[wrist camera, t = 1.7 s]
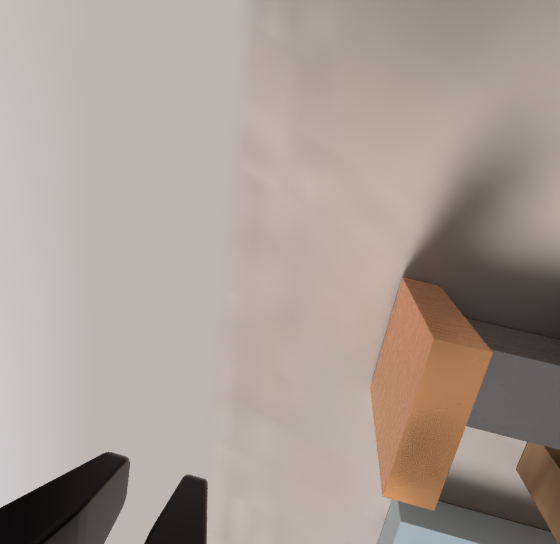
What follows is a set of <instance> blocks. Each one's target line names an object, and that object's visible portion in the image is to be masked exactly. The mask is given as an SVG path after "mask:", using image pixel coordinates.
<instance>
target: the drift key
mask: <svg viewBox="0 0 560 544" xmlns="http://www.w3.org/2000/svg"><path fill="white" fill-rule="evenodd" d="M370 389H371V398H372V407H373V416H374V424H375V433H376V442H377V451H378V460H379V469H380V477H381V486H382V495H383V497H386V498H390V499H393V500H397V501H400V502H404V503H408V504H411V505H415V506H418V507H422V508H426V509H429V510H433V511H434V510H435V507H436V505H437V502H438V499H439V497H440V494H441V491H442V489H443V486H444V483H445V481H446V478H447V475H448V472H449V470H450V467H451V464H452V462H453V459H454V456H455V454H456V451H457V448H458V446H459V443H460V440H461V438H462V435H463V432H464V429H465V427H466V426H468V427H472V428H476V429H480V430H484V431H488V432H492V433H496V434H500V435H503V436H507V437H511V438H515V439H519V440H523V441H527V442H531V443H535V444H539V445H542V446H546V447H550V448H554V449H558V450H560V340H559V339H555V338H550V337H546V336H542V335H537V334H533V333H529V332H524V331H520V330H516V329H511V328H507V327H503V326H498V325H494V324H490V323H485V322H481V321H477V320H472V319H468V318H465V317H464V316H463V314H462V313H461V312H460V311H459V309H458V308H457V307H456V306H455V304H454V303H453V302H452V301H451V299H450V298H449V297H448V296H447V294H446V293H445V292H444V291H443V289H442V288H441V287H440V286H439V285H435V284H430V283H426V282H422V281H417V280H413V279H408V278H404V277H402V279H401V283H400V286H399V290H398V293H397V297H396V300H395V304H394V307H393V311H392V314H391V317H390V321H389V324H388V328H387V331H386V335H385V338H384V342H383V345H382V349H381V352H380V356H379V359H378V363H377V366H376V369H375V373H374V376H373V380H372V383H371V387H370Z"/></svg>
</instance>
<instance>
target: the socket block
mask: <svg viewBox="0 0 560 544" xmlns="http://www.w3.org/2000/svg"><path fill="white" fill-rule="evenodd" d="M516 470H517V472H518V474H519V475H520V477H521V479H522V481H523V482H524V484H525V486H526V488H527V489H528V491H529V493H530V495H531V497H532V498H533V500H534V502H535V504H536V505H537V507H538V509H539V511H540V512H541V514H542V516H543V518H544V520H545V521H546V523H547V525H548V527H549V528H550V530H551V532H552V534H553V535H554V537H555V539H556V541H557V543H558V544H560V450H558V449H554V448H550V447H546V446H542V445H539V444H535V443H531V442H528V443H527V445H526V448H525V450H524V452H523V455H522V457H521V459H520V462H519V464H518V466H517V469H516Z"/></svg>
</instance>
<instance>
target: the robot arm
mask: <svg viewBox="0 0 560 544" xmlns="http://www.w3.org/2000/svg"><path fill="white" fill-rule="evenodd" d="M129 468H130V461H129V459H128V458H127V457H125V456H122V455H119V454H115V453H112V452H107V453H104V454H101V455H100V456H98V457H96V458H94V459H92V460H90V461H88V462H86V463H85V464H83V465H81V466H79V467H77V468H75V469H73V470H71V471H69V472H67V473H66V474H64V475H62V476H60V477H58V478H56V479H54V480H52V481H50V482H48V483H47V484H45V485H43V486H41V487H39V488H37V489H35V490H33V491H32V492H30V493H28V494H26V495H24V496H22V497H20V498H18V499H16V500H14V501H13V502H11V503H9V504H7V505H5V506H3V507H1V508H0V544H104V543H105V541H106V539H107V537H108V535H109V533H110V531H111V529H112V527H113V525H114V523H115V521H116V519H117V517H118V515H119V513H120V511H121V509H122V507H123V505H124V502H125V498H126V494H127V486H128V477H129ZM207 489H208V484H207V481H206V480H205V479H203V478H199V477H196V476H192V475H185V476H184V477H183V479H182V480H181V482H180V483H179V485H178V487H177V488H176V490H175V491H174V493H173V495H172V496H171V498H170V500H169V501H168V503H167V504H166V506H165V508H164V509H163V511H162V513H161V514H160V516H159V517H158V519H157V521H156V522H155V524H154V526H153V528H152V529H151V531H150V533H149V535H148V537H147V539H146V542H145V543H144V544H206V541H207Z"/></svg>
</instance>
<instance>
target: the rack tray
mask: <svg viewBox="0 0 560 544" xmlns="http://www.w3.org/2000/svg"><path fill="white" fill-rule="evenodd" d="M378 544H558V543H557V541H556V539H555V537H554V535H553V534H552V532H549V531H545V530H542V529H538V528H534V527H531V526H527V525H523V524H520V523H516V522H513V521H509V520H505V519H502V518H498V517H494V516H491V515H487V514H484V513H480V512H476V511H473V510H469V509H465V508H462V507H458V506H455V505H451V504H447V503H444V502H440V501H438V502H437V505H436V507H435V510H434V511H433V510H429V509H426V508H422V507H418V506H415V505H411V504H408V503H404V502H400V501H397V500H393V499H392V502H391V505H390V508H389V511H388V514H387V517H386V520H385V523H384V526H383V529H382V532H381V535H380V538H379V541H378Z"/></svg>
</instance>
